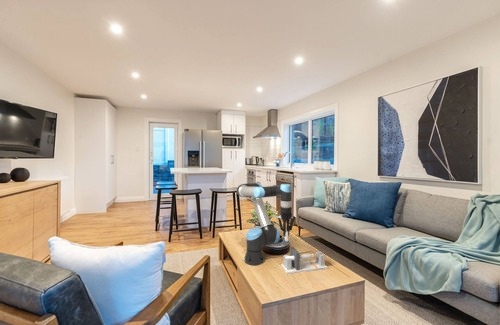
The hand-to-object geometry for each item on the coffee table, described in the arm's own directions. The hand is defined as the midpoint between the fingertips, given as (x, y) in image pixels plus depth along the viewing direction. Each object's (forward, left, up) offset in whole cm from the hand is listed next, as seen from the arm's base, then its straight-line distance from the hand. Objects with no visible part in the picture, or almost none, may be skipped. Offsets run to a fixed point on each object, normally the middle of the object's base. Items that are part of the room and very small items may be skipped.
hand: (286, 240), depth 161 cm
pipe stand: (+13, 0, -21) cm, 25 cm away
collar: (+6, 0, -19) cm, 20 cm away
